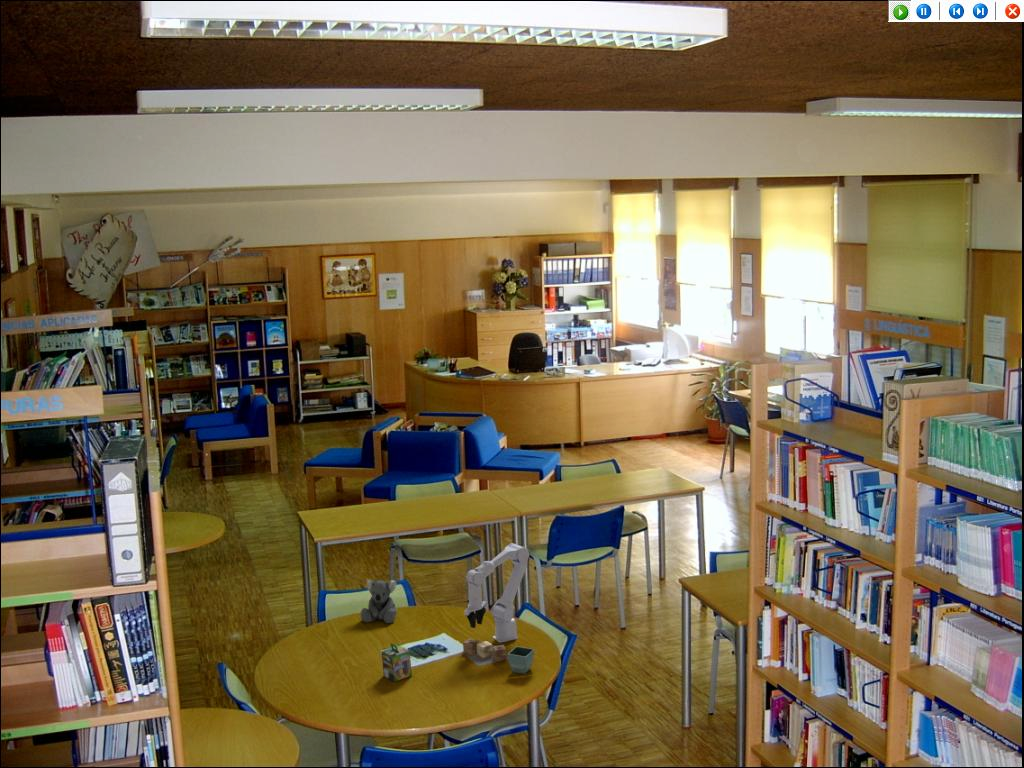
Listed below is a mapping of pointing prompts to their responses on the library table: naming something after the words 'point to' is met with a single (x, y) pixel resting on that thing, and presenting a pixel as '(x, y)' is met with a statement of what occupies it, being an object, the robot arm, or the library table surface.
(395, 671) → the green printed carry box
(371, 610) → the koala plush
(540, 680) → the library table surface
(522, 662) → the flower pot
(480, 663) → the felt mat
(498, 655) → the pip block one
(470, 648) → the pip block two
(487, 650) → the plain block
